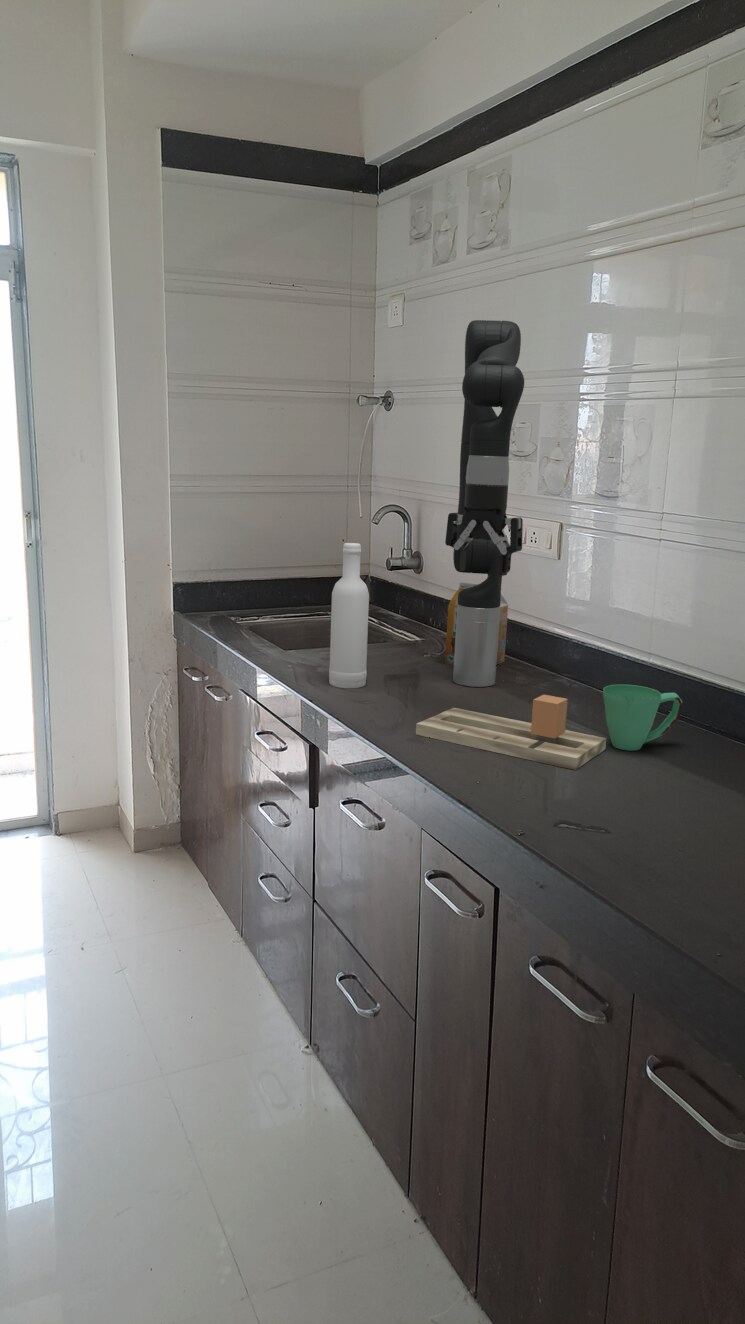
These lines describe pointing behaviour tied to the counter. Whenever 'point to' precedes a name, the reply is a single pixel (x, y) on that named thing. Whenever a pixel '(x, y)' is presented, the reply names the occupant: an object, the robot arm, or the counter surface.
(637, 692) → the mug
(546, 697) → the fader knob
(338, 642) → the bottle
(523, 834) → the counter surface
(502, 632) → the milk carton
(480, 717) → the board
